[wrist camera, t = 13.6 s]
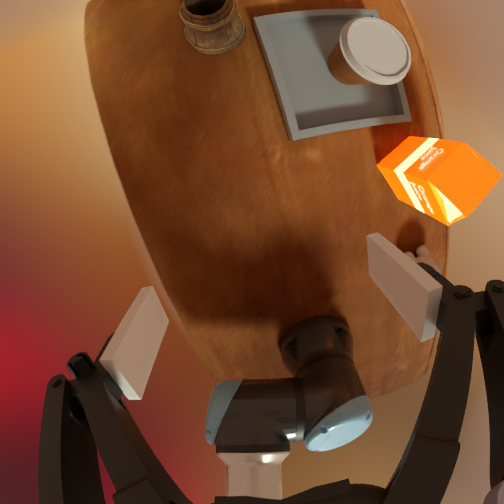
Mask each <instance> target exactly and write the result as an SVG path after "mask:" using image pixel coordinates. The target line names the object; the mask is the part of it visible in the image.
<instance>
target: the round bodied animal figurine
mask: <svg viewBox="0 0 504 504" xmlns="http://www.w3.org/2000/svg"><path fill="white" fill-rule="evenodd" d="M404 254H406V255H407V256H408V257H409V258H411V259H412V260H413V261H414V262H415V263H420V262H423V263H425V264H428V265H430V266H431V267H433V268H434V269H435V271H437V272H439V273H440V269H439V267H438V265H437V263H436V262H435V261H434V260H432V259H431V258H430V253H429V250H428V248H427V246H426V245H421V246H419V247H418V248H417V249H416V254H417V256H416V257H415V256H414V255H413V253H412V252H410V251H407V252H405V253H404ZM440 275H441V273H440Z"/></svg>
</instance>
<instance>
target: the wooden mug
mask: <svg viewBox="0 0 504 504" xmlns="http://www.w3.org/2000/svg"><path fill="white" fill-rule="evenodd" d="M179 16H180V19H181V20H182V21H183V23H184V24H185V29H184V32H185V36H186V38H187V40H188V42H189V43H190V44H191V46H193V47H194V48H195V49H196V50H197V51H199V52H200V53H203V54H207V55H218V54H223V53H226V52H228V51H231V50H232V49H234V48H235V47H237V46H238V45H239V44H240V43H241V42H242V40H243V38H244V36H245V31H246V28H245V25H244V22H243V20H242V18H241V16H240V15H239V14H238V13H237V11H236V5H235V2H234V0H181V3H180V9H179Z"/></svg>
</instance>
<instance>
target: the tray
mask: <svg viewBox="0 0 504 504" xmlns="http://www.w3.org/2000/svg"><path fill="white" fill-rule="evenodd" d="M359 17H374V18H378V19H380V17H379V14H378V12H377V10H373V9H316V10H303V11H293V12H284V13H277V14H270V15H264V16H259V17H254V19H253V27H254V30H255V33H256V36H257V38H258V41H259V44H260V47H261V50H262V53H263V56H264V59H265V62H266V65H267V68H268V71H269V74H270V77H271V80H272V83H273V86H274V90H275V93H276V96H277V99H278V103H279V106H280V110H281V113H282V116H283V120H284V123H285V127H286V131H287V134H288V138H289V140H290V141H294V140H298V139H303V138H308V137H312V136H317V135H322V134H327V133H333V132H338V131H344V130H350V129H356V128H362V127H369V126H376V125H383V124H391V123H400V122H410V121H412V119H411V114H410V109H409V105H408V101H407V97H406V93H405V89H404V85H403V82H402V80H401V81H399V82H397V83H395V84H392V85H380V84H376V83H369V84H358V85H345V84H342V83H340V82H339V81H337V80H336V79H335V78H334V77H333V76H332V75H331V73H330V71H329V69H328V59H329V56H330V55H331V53H332V51H333V49H334V47H335V46H336V44H337V42H338V41H339V38H340V32H341V30H342V28H343V26H344V25H345V24H346V23H347V22H348V21H350V20H352V19H355V18H359Z"/></svg>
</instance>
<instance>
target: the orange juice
mask: <svg viewBox="0 0 504 504" xmlns="http://www.w3.org/2000/svg"><path fill="white" fill-rule="evenodd" d="M377 166H378V168H379V169H380V171H381V172H382V174H383V176H384V177H385V179H386V180H387V182H388V183H389V185H390V187H391V188H392V190H393V191H394V193H395V195H396V196H397V198H398V199H399V200H401V201H403V202H405V203H407V204H409V205H411V206H413V207H415V208H416V209H418V210H420V211H422V212H423V213H426V214H428V215H430V216H431V217H433V218H435V219H437V220H439V221H440V222H442V223H444V224H446V225H447V226H449V225H450V224H452V223H454V222H456V221H458V220H460V219H462V218H464V217H466V218H467V217H468V216H469V215H470V213H471V212H472V211H473V210H474V209H475V208H476V207H477V206H478V205H479V203H480V202H481V201H482V200H483V198H484V197H485V196H486V195H487V194H488V193H489V191H490V190H491V189H492V188H493V187H494V185H495V184H496V183H497V182H498V180H499V179H500V178H501V177H502V174H501V173H500V172H499V171H498V170H497V169H496V168H494V167H493V166H492V165H491V164H490V163H489V162H488V161H487V160H485V159H484V158H483V157H482V156H481V155H479V154H478V153H477V152H476V151H475V150H473V149H472V148H471V147H470V146H468V145H467V144H466V143H464V142H456V141H449V140H441V139H436V138H424V137H413V136H409V137H408V138H407V139H406V140H404V141H403V142H402V143H401V144H400V145H399V146H398V147H396V148H395V149H394V150H393V151H392V152H391V153H390V154H388V155H387V156H386V157H385V158H384V159H383V160H382V161H380V162H379V163H378V164H377Z"/></svg>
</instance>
